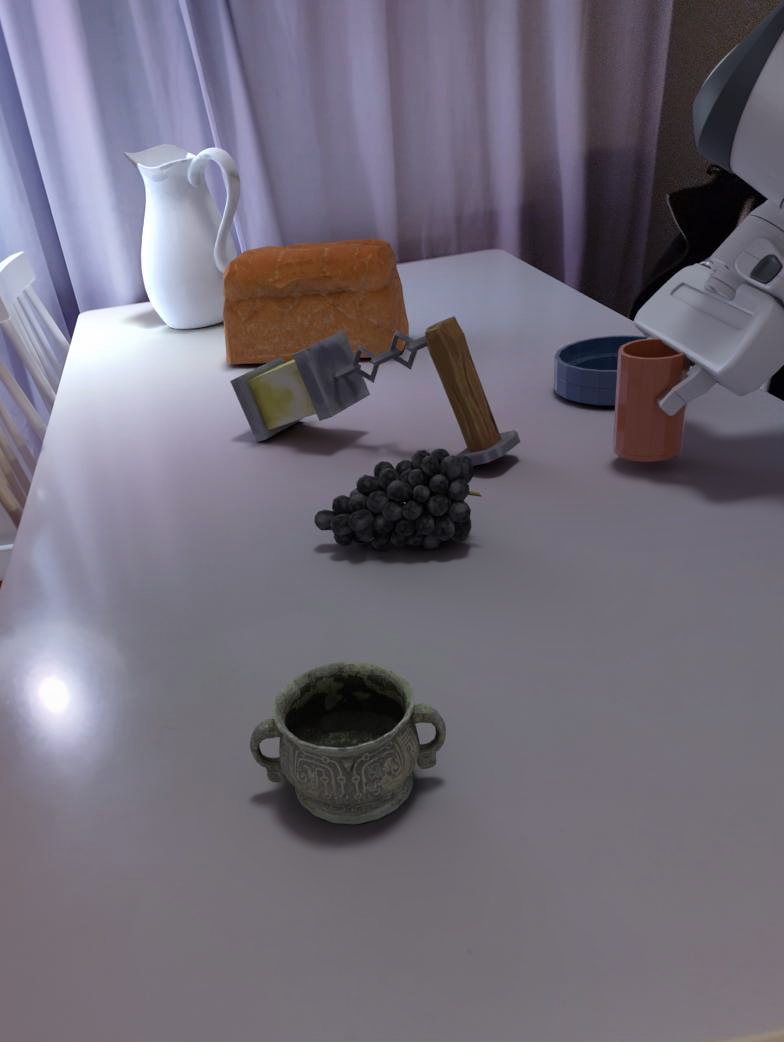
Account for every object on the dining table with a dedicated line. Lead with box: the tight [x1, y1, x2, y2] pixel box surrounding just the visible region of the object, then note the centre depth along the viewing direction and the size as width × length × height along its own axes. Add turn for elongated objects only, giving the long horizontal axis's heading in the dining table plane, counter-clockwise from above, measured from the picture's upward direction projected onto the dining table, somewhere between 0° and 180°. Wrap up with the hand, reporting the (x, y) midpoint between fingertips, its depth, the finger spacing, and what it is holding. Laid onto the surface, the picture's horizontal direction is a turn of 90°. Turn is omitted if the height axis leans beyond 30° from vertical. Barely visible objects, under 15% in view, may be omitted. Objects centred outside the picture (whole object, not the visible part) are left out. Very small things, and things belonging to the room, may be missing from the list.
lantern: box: [229, 315, 521, 467], centre depth 104 cm, size 8×17×30 cm
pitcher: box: [123, 143, 241, 330], centre depth 158 cm, size 24×17×28 cm
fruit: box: [314, 448, 483, 551], centre depth 84 cm, size 9×8×15 cm
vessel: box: [249, 661, 447, 826], centre depth 57 cm, size 12×9×6 cm
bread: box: [223, 238, 410, 366], centre depth 138 cm, size 14×27×15 cm, turn 77°
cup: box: [612, 338, 691, 463], centre depth 91 cm, size 6×6×10 cm
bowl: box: [553, 334, 647, 407], centre depth 112 cm, size 14×14×4 cm
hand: (645, 396), depth 90 cm, fingers closed on cup, 6 cm apart
